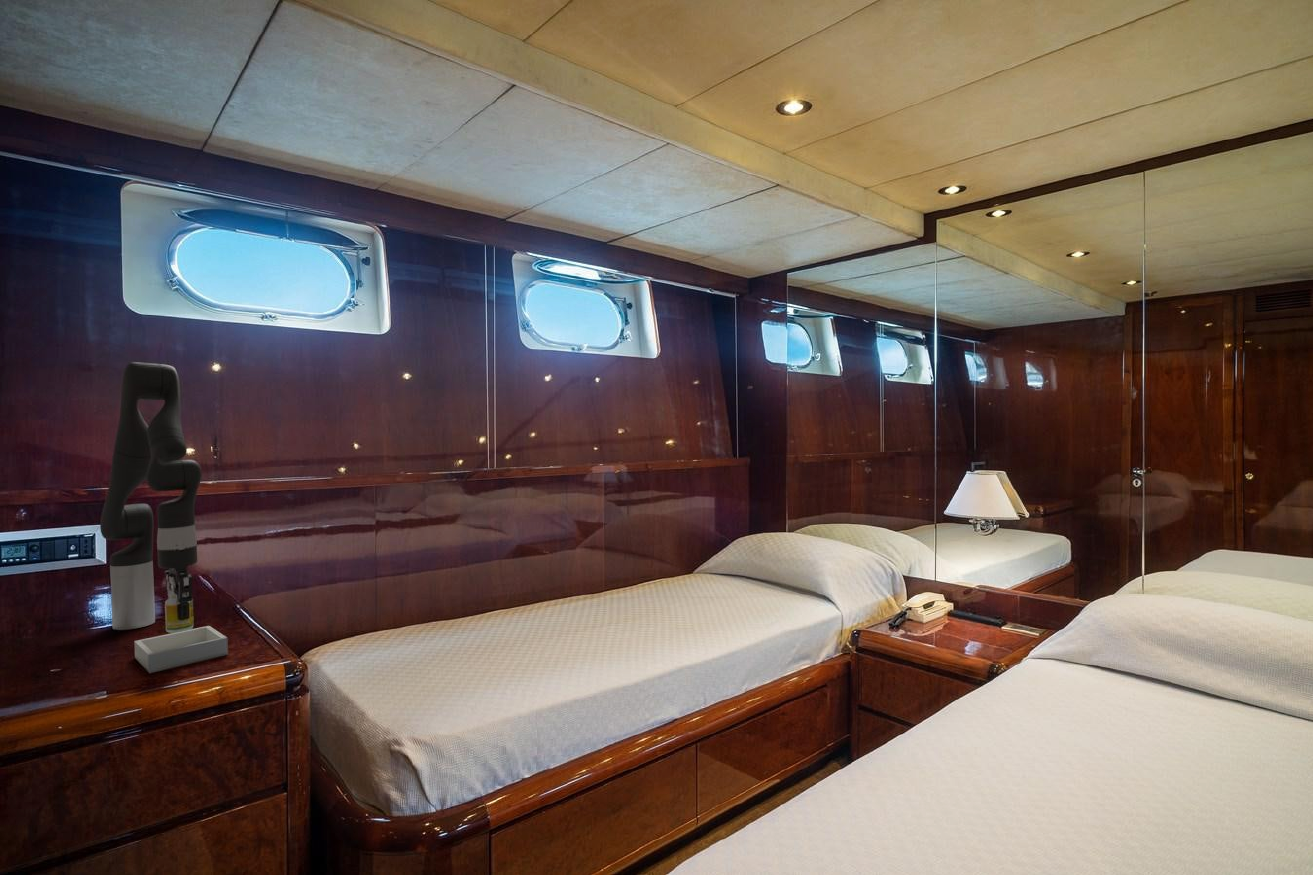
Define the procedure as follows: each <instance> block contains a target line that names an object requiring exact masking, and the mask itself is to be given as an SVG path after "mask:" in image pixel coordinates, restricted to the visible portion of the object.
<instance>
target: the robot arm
mask: <svg viewBox="0 0 1313 875" xmlns="http://www.w3.org/2000/svg"><path fill="white" fill-rule="evenodd" d="M120 395H121V396H120V408H119V409H120V411H119V412H120V413H119V417H118V418H119V419H118V426H117V431H116V436H115V441H114V445H113V446H114V447H113V452H112V458H111V461H112V462H111V470H110V476H109V477H110V478H109V483H108V488H107V492H106V495H105V496H106V497H105V500H104V502H103V503H104V504H103V508H102V512H101V515H100V524H99V525H100V533H101V536H102V537H103V538H104V539H105V540H108V541H119V540H120V541H121V540H126V539H133V541H132V542H131V543H130V544H129V545H127V546H126V547H124V548H123V549H120V550H118V551H116V552H114V553H112V554H111V555H110V556H109V573H110V574H109V575H110V593H111V597H110V598H111V616H112V617H111V618H112V619H111V622H112V623H111V624H112V630H116V631H125V630H134V629H139V628H143V627H147V626H150V625H153V624H155V622H156V611H155V608H156V607H155V605H156V604H155V584H154V581H155V580H154V561H153V559H154V558H153V553H154V513H153V510H152V508H151V505H149V504H147V503H132V504H126V503H127V500H128V499H129V497H130V496H131V494H132V493H133V492H134V491H135V490H136V488H138V486H140V485H141V484H142V483H144V481H145V482H146V484H147V486H148V487H149V488H150V489H151V490H152V491H155V492H170V491H172V492H174V491H182V493H181V495H180V496H178V497H177V498H174V499H170V500H167V501H163V502H161V503H159V504H158V505H157V509H156V510H157V512H156V514H157V515H156V516H157V534H156V547H157V566H158V567H159V568H160V569H168V570H165V571H164V575H165V584H166V595H167V596H168V590H170V589H172V592H173V595H175V596H176V603H177V618H178V620H185V619H189V617H190V613H189V602H190V601H192V599H193V600H194V598H193V583H194V582H193V580H194V578H193V576H192V575H191V572H189V571H188V567H189V566H193V565H196V564H197V563H198V544H197V543H198V542H197V541H198V539H197V531H196V523H195V521H196V520H195V505H196V504H195V503H196V498H197V494H198V490H199V487H200V484H201V480H202V477H203V476H202V475H203V472H202V467H201V465H200V464H199V463H198V462H197V461H195V460H194V459H183V458H184V457H186V455H187V446H186V440H185V437H184V433H183V428H182V420H181V419H182V415H181V414H182V413H181V412H182V410H181V389H180V379H179V373H178V372H177V370H176V368H175V367H174V366H172V365H168V364H162V363H161V364H160V363H152V362H150V363H148V362H140V361H137V362H136V361H133V362H132V361H131V362H129V363H127V364H126V366H125V368H124V370H123V375H122V383H121V394H120ZM139 400H155V401H164V404H163V406H162V408H161V409H159V411H158V412H157V413H156V415H154V417H153V418H152V419H151V420H150V423H149V424H147V422H146V421H145V420H144V418H143V416H142V414H141V411H140V409H139V404H138V403H139ZM182 594H186V597H182ZM169 598H170V597H168V599H169Z"/></svg>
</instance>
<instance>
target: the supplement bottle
mask: <svg viewBox="0 0 1313 875" xmlns="http://www.w3.org/2000/svg"><path fill="white" fill-rule="evenodd" d="M167 596H168V598H167V599H166V600H165V602H164V614H165V631H166V632H167V633H168V634H171V633H177V632H183V631H187V630H191V629H194V623H195V622H194V621H195V620H194V598H193V599H192V601H190V602H189V613H190V617H189V619H185V620H178V618H177V603H176V596H175V595H173V592H172V589H170V590H168V595H167ZM169 597H170V598H169ZM182 597H186V594H182Z"/></svg>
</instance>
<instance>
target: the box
mask: <svg viewBox="0 0 1313 875" xmlns="http://www.w3.org/2000/svg"><path fill="white" fill-rule="evenodd" d="M228 646H229V643H228V637H227V636H226V635H224V634H222V633H221V632H220V631H217V630H216V629H215V628H213V627H212V626H210V625H206V626H202V627H201V626H200V627H197V628H192V629H190V630H187V631H183V632H177V633H168V634H167V633H166V634H163V635H158V636H153V637H152V636H151V637H149V638H148V637H147V638H142V639H139V640H134V659H136V661H138V663H139V664H140V665H141V666H142V667H143V668H144V669H145V670H146V671H147V672H148V673H149V674H152V673H155V672H156V673H157V672H160V671H164V670H168V669H173V668H177V667H182V666H185V665H186V666H187V665H189V664H194V663H199V662H202V661H206V660H207V661H208V660H210V659H215V658H218V657H222V656H223V657H224V656H227V655H229V647H228Z"/></svg>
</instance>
